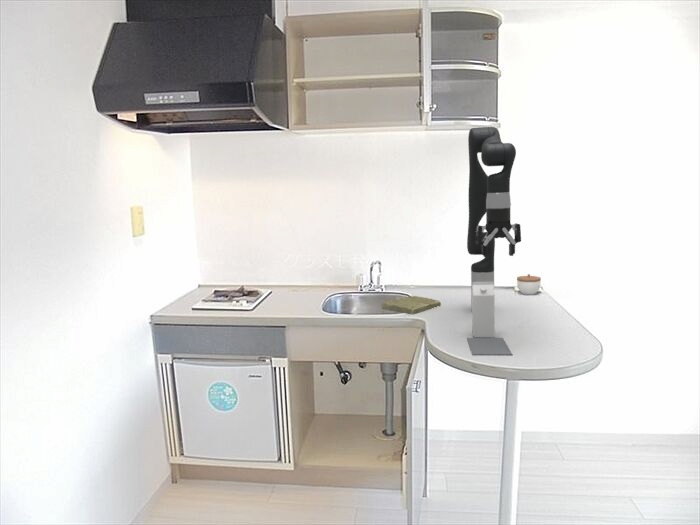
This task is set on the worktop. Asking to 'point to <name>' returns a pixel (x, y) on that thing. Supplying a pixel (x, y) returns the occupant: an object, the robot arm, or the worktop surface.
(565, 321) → the worktop surface
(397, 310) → the olive green towel
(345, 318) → the worktop surface
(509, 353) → the mat
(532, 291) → the lidded jar
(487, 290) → the milk carton
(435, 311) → the worktop surface
